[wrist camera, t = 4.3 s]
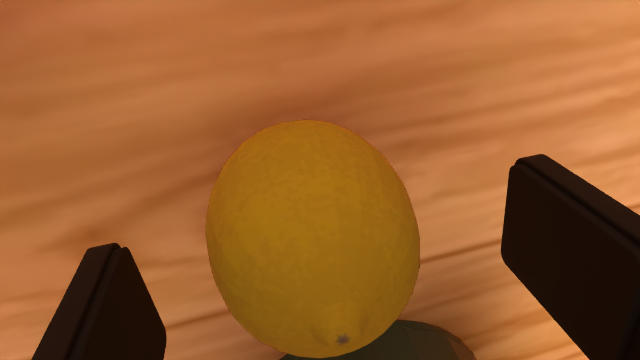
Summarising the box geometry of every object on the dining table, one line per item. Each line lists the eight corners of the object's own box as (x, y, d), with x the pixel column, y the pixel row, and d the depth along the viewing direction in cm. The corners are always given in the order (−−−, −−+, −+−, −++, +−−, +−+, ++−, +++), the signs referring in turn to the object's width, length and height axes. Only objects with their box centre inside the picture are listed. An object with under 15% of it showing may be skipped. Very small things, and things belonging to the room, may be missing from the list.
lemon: (218, 77, 13) (206, 207, 6) (381, 100, 14) (522, 228, 8) (205, 224, 15) (186, 440, 8) (347, 232, 17) (430, 423, 10)
